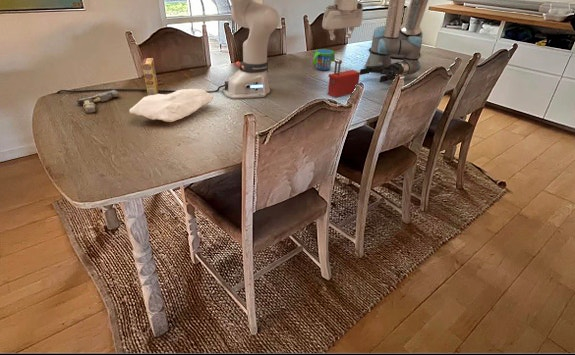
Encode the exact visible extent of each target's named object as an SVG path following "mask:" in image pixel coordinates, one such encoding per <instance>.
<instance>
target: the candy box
mask: <svg viewBox="0 0 575 355" xmlns="http://www.w3.org/2000/svg"><path fill="white" fill-rule="evenodd" d="M141 66H142V73H143V78H144V82H145V87H146V89H147V91H146V92H147V96H150V95H156V94H159V90H160V89H159V84H158V79H157V73H156V66H155V62H154V58H153V57H151V58H150V57H149V58H146V57H145V58H143V60H142V63H141Z"/></svg>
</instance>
